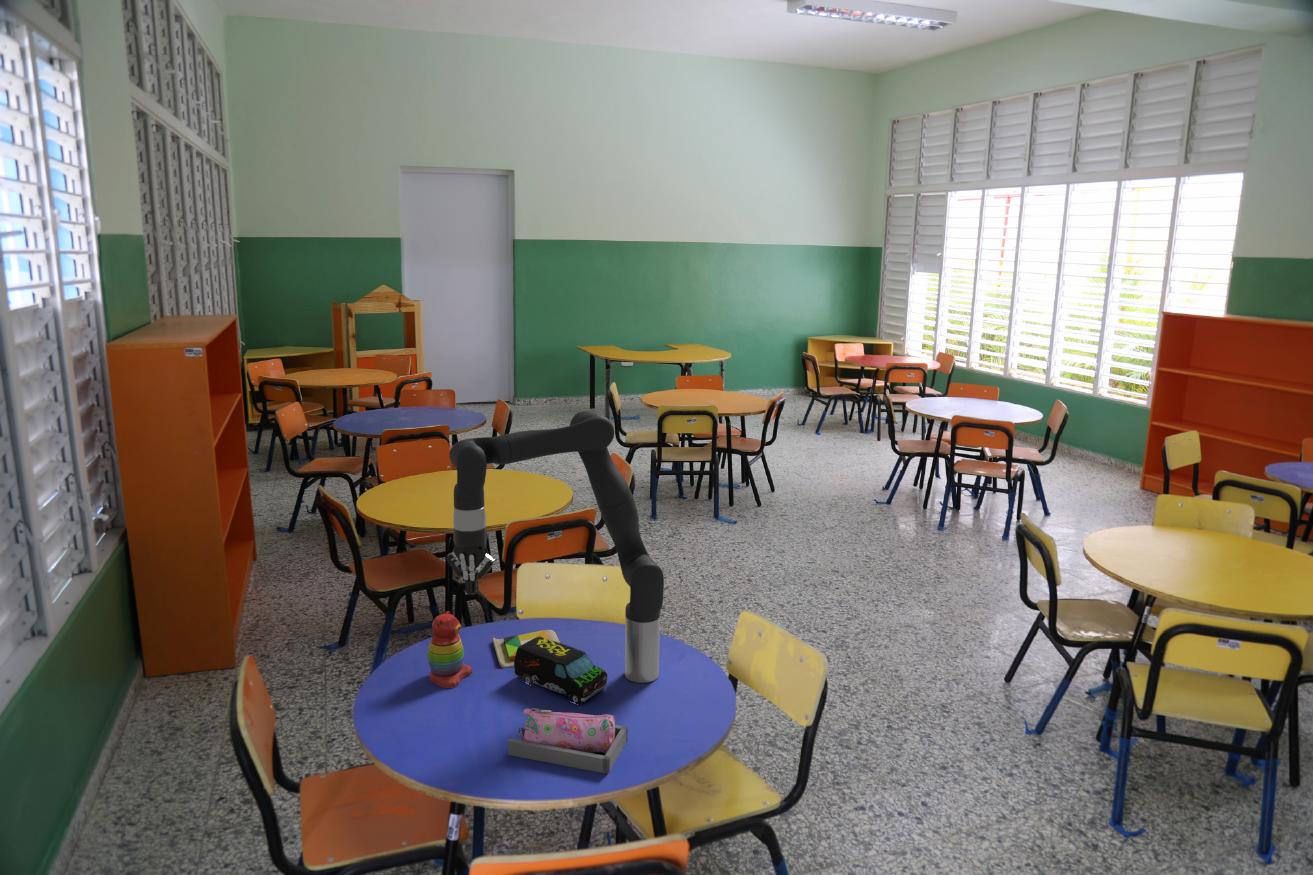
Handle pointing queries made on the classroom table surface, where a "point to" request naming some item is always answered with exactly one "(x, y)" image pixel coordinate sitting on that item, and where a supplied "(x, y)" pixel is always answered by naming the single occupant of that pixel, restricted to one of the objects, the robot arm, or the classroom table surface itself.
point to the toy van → (559, 669)
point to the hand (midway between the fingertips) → (471, 593)
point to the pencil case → (569, 730)
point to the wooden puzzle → (517, 645)
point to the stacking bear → (446, 652)
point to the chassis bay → (571, 753)
